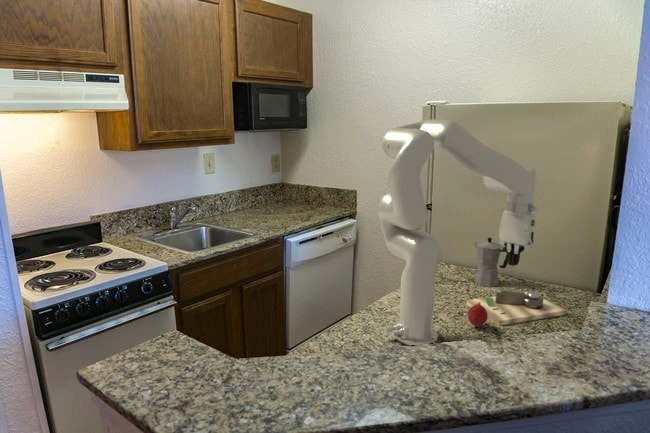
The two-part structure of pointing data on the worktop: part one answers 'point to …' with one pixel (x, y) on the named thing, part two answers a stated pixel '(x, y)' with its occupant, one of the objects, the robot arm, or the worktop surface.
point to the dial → (520, 298)
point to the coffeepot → (489, 262)
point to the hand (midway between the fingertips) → (513, 264)
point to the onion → (477, 315)
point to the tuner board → (516, 311)
